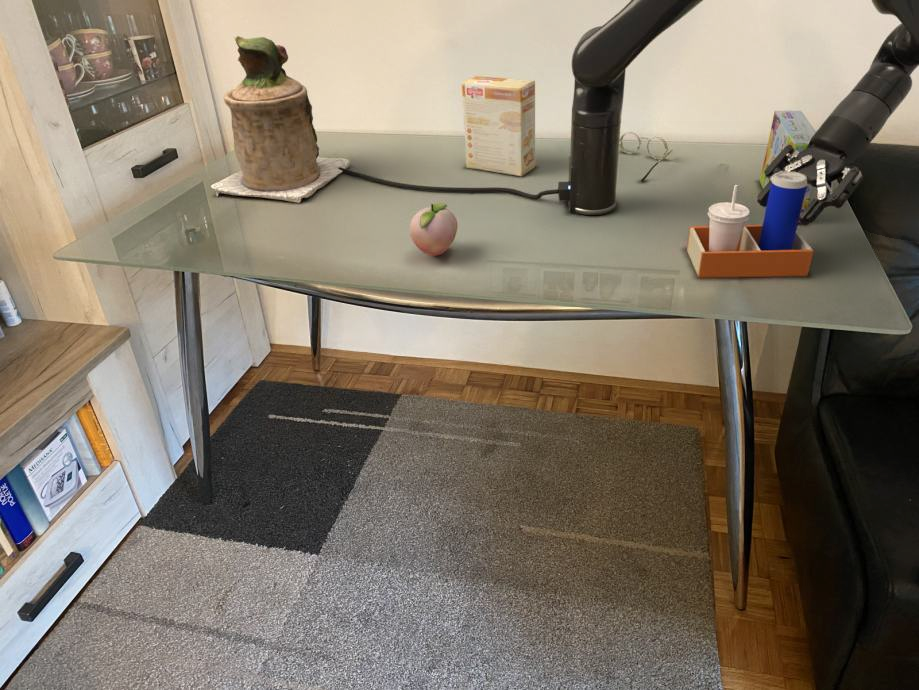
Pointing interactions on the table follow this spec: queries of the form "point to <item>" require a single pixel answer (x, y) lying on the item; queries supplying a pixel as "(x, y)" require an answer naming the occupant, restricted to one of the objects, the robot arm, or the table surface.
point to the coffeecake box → (499, 124)
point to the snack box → (788, 142)
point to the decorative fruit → (433, 229)
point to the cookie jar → (273, 130)
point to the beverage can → (783, 211)
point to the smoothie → (726, 224)
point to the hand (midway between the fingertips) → (781, 213)
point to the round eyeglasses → (648, 150)
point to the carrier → (747, 256)
